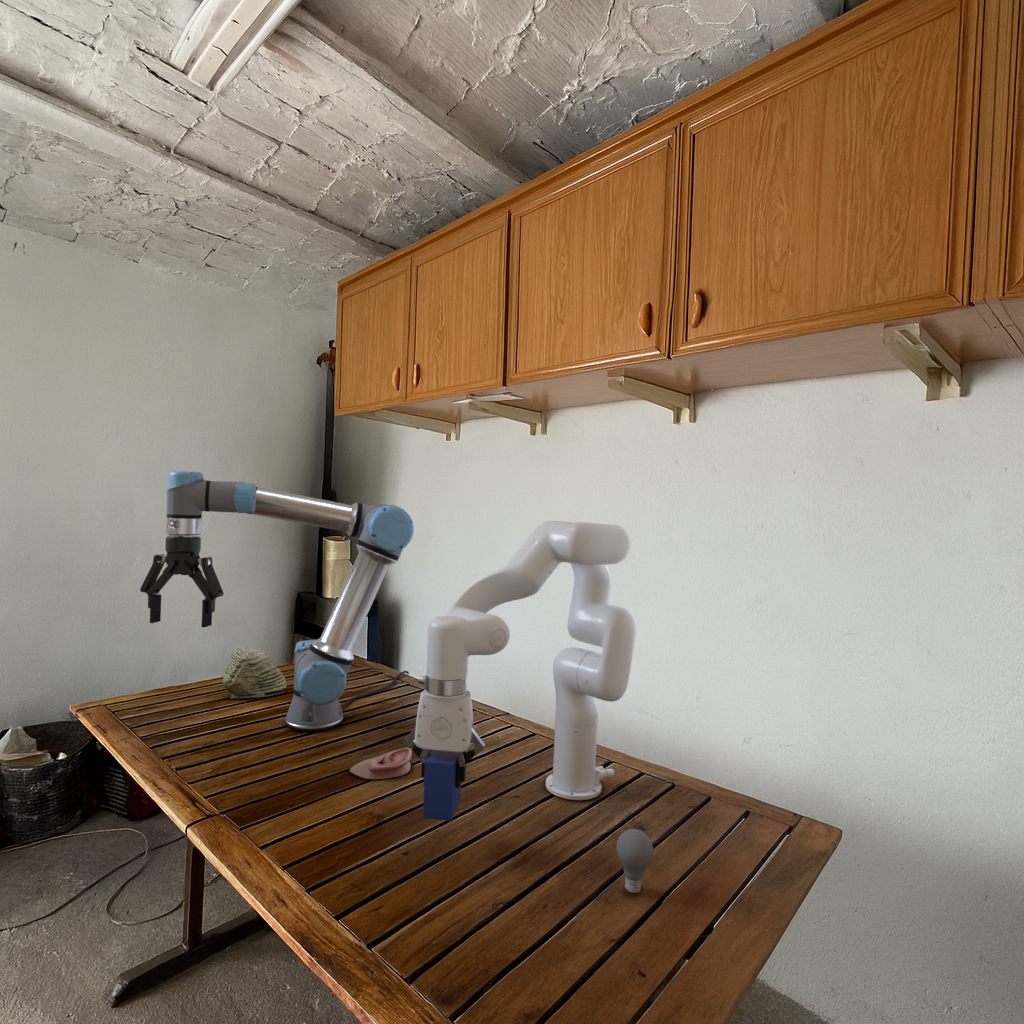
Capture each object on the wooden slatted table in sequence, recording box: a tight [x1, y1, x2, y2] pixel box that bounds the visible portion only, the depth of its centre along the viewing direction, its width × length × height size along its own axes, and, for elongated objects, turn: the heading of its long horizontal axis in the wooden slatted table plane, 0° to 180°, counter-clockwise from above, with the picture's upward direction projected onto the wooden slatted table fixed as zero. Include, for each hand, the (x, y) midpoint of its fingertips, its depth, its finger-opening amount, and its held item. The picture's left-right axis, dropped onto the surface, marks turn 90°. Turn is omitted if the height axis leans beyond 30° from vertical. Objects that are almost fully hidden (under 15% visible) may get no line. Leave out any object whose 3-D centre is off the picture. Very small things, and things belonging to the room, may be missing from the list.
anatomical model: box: [349, 747, 413, 780], centre depth 148 cm, size 13×4×12 cm
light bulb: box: [615, 828, 654, 894], centre depth 106 cm, size 6×6×10 cm
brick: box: [422, 750, 462, 822], centre depth 116 cm, size 5×8×10 cm
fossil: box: [222, 646, 288, 699], centre depth 198 cm, size 9×18×15 cm, turn 132°
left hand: (180, 624), depth 152 cm, fingers open, 13 cm apart
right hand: (443, 782), depth 116 cm, fingers closed on brick, 5 cm apart
